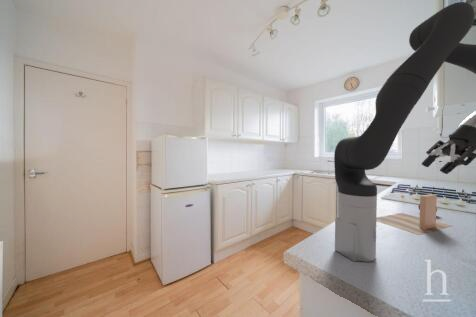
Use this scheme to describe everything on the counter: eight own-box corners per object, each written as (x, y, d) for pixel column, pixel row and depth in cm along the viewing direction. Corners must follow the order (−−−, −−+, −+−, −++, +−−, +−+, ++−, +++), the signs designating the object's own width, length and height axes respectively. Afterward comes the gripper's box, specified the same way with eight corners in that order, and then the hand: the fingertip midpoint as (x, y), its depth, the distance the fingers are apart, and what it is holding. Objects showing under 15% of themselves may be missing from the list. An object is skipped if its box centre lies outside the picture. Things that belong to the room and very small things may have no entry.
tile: (425, 229, 64) (426, 196, 64) (419, 227, 66) (420, 195, 66) (435, 226, 67) (436, 195, 67) (430, 225, 68) (430, 194, 68)
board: (419, 237, 60) (419, 234, 60) (369, 221, 75) (369, 218, 75) (452, 228, 68) (452, 225, 68) (402, 214, 83) (402, 212, 83)
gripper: (445, 123, 65) (409, 158, 71) (486, 124, 52) (439, 168, 57) (464, 133, 65) (427, 169, 70) (512, 138, 51) (461, 181, 56)
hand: (432, 168), depth 63 cm, fingers open, 8 cm apart
